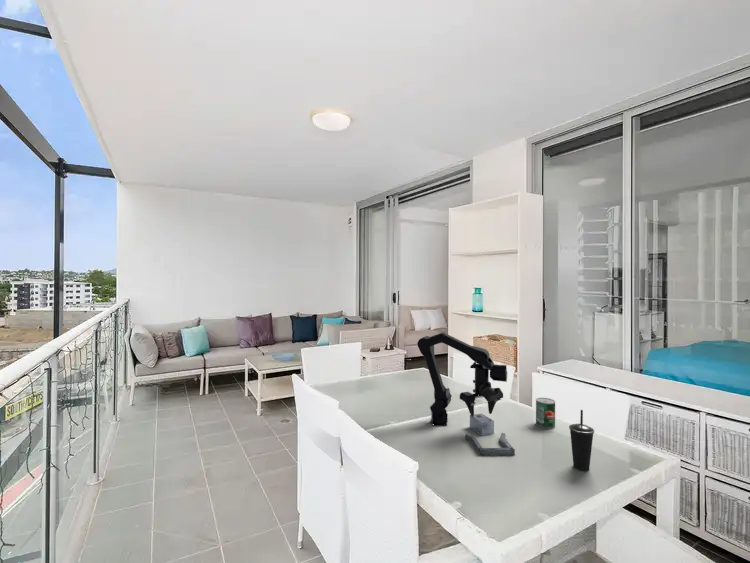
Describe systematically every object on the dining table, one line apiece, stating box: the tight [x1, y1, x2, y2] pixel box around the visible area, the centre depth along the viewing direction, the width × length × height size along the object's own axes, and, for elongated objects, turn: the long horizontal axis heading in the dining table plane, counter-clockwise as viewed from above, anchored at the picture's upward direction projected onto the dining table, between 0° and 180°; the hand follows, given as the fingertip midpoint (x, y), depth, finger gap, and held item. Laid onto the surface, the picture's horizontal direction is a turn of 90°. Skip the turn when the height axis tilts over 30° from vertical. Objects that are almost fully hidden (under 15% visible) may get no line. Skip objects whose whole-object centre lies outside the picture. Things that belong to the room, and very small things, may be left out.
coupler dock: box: [464, 432, 516, 456], centre depth 148 cm, size 17×15×2 cm
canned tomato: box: [535, 397, 556, 429], centre depth 168 cm, size 8×8×11 cm
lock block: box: [469, 412, 495, 436], centre depth 163 cm, size 6×9×6 cm, turn 19°
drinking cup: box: [568, 409, 595, 472], centre depth 131 cm, size 8×8×20 cm
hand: (481, 415), depth 163 cm, fingers open, 9 cm apart
